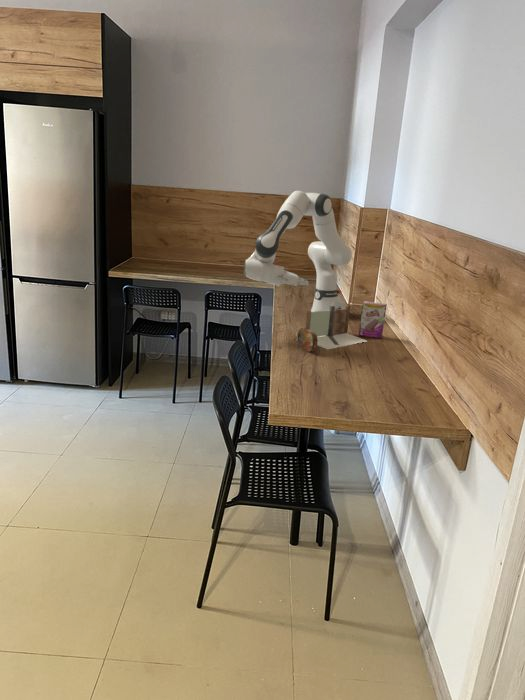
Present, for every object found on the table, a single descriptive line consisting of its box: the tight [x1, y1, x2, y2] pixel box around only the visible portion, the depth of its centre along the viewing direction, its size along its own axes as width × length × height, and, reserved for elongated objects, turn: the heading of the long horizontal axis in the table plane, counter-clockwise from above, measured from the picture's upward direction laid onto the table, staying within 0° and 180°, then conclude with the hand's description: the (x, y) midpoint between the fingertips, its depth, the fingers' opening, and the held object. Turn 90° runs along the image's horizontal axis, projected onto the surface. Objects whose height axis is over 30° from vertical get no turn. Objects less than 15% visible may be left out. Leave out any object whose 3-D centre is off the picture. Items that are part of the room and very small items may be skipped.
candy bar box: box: [358, 300, 388, 339], centre depth 255 cm, size 11×5×16 cm, turn 74°
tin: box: [297, 327, 318, 353], centre depth 231 cm, size 15×3×8 cm, turn 21°
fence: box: [328, 305, 351, 336], centre depth 254 cm, size 13×2×14 cm, turn 127°
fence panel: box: [304, 310, 330, 337], centre depth 246 cm, size 14×2×12 cm, turn 127°
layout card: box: [317, 332, 368, 350], centre depth 248 cm, size 26×20×1 cm
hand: (307, 283), depth 241 cm, fingers open, 8 cm apart
